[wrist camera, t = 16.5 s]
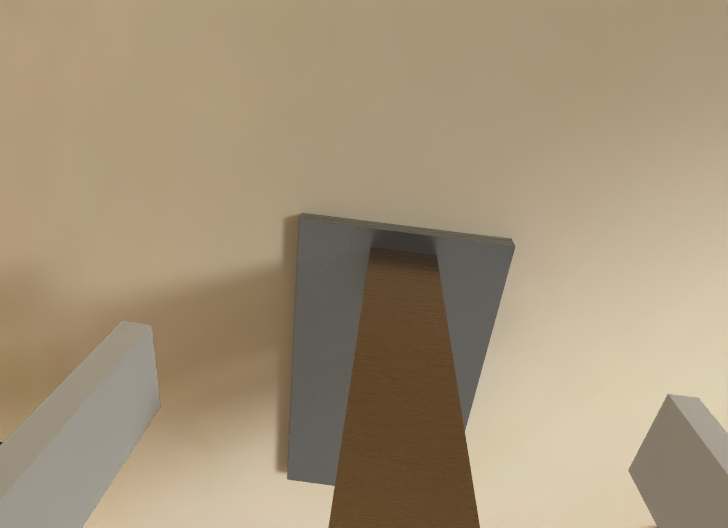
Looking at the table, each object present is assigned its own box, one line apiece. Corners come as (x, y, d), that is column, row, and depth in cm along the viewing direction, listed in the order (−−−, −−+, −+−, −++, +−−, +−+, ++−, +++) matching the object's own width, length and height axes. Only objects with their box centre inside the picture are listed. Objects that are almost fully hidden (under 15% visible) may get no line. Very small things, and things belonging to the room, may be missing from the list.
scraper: (303, 211, 18) (129, 521, 7) (510, 237, 18) (705, 601, 6) (290, 466, 24) (190, 853, 13) (444, 486, 24) (483, 898, 13)
